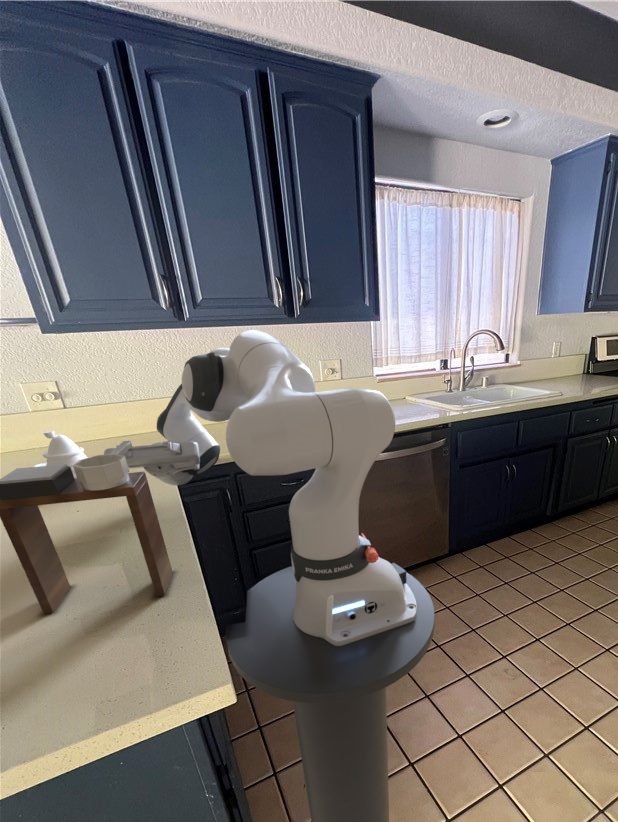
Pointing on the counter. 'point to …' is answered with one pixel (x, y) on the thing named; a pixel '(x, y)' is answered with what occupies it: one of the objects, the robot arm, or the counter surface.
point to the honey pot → (62, 451)
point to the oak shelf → (41, 553)
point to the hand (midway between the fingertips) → (143, 446)
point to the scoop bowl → (104, 469)
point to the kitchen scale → (35, 481)
